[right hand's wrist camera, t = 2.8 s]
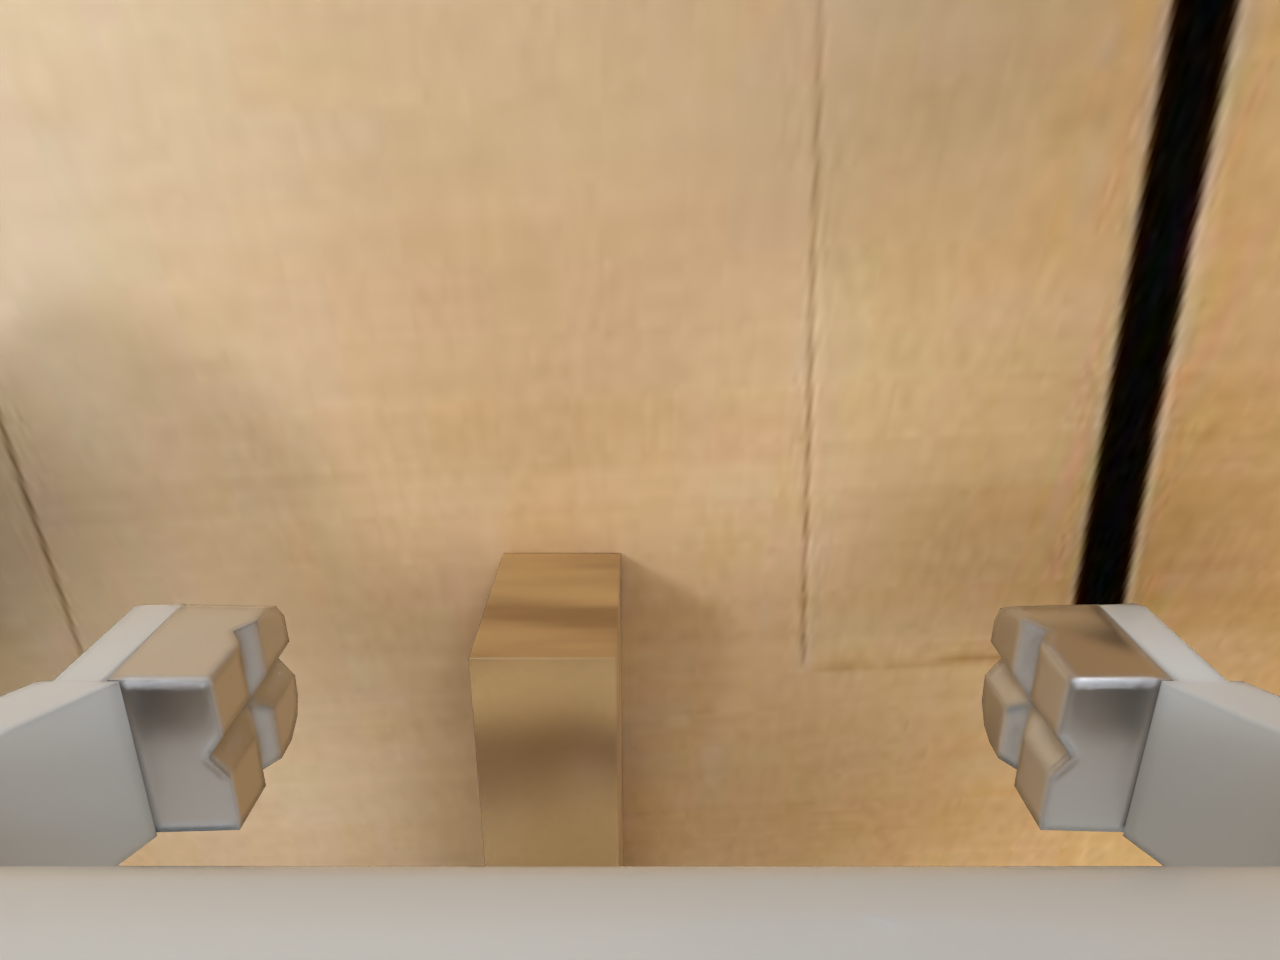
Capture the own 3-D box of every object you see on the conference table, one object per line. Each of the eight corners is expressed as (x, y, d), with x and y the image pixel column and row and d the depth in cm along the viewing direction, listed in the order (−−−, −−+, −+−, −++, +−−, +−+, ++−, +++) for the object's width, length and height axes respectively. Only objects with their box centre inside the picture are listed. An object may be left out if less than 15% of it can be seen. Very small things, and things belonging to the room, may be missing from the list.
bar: (502, 552, 41) (468, 657, 33) (620, 552, 41) (616, 657, 33) (527, 965, 51) (505, 1129, 42) (623, 965, 51) (620, 1129, 42)
